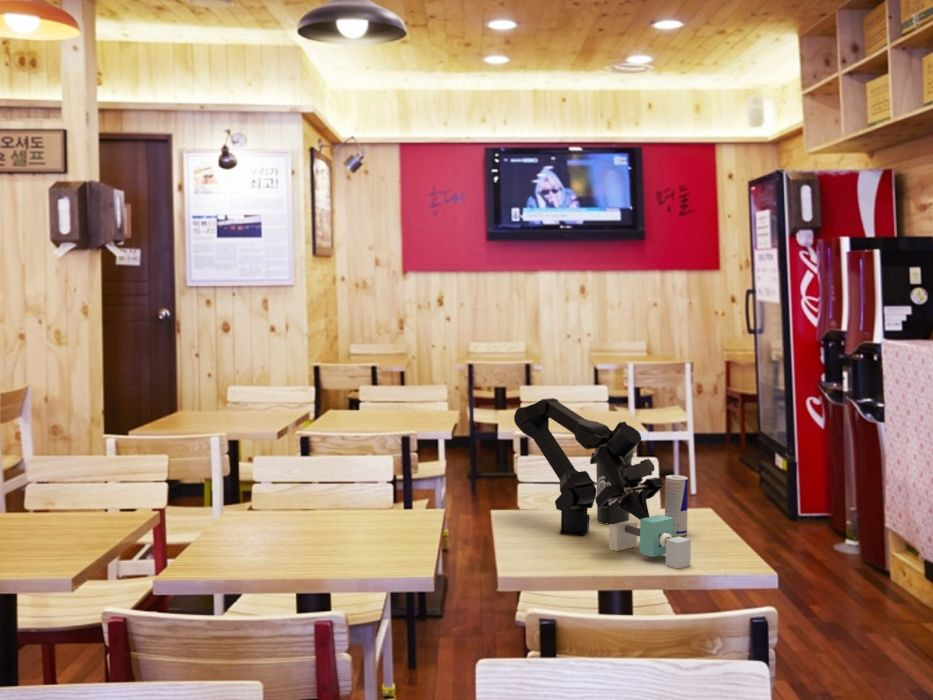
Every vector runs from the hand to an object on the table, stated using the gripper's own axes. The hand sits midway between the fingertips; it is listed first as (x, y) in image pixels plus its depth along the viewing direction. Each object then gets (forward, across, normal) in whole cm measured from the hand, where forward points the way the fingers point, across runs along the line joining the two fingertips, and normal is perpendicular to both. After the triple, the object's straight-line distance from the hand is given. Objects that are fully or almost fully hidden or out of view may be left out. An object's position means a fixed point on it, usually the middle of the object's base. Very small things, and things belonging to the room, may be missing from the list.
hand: (648, 522), depth 211 cm
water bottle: (-13, +16, +25) cm, 33 cm away
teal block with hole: (+7, 0, +3) cm, 7 cm away
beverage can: (0, +20, +12) cm, 23 cm away
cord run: (+6, 0, +5) cm, 8 cm away
